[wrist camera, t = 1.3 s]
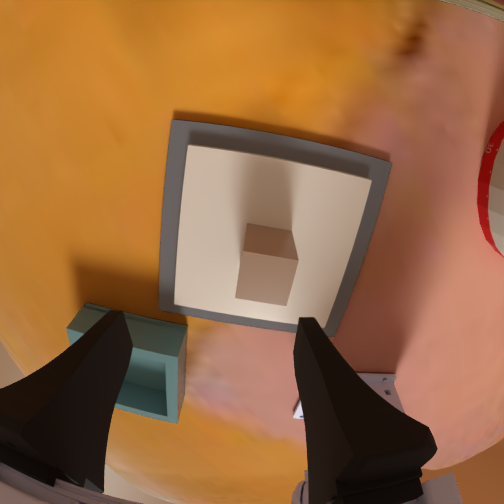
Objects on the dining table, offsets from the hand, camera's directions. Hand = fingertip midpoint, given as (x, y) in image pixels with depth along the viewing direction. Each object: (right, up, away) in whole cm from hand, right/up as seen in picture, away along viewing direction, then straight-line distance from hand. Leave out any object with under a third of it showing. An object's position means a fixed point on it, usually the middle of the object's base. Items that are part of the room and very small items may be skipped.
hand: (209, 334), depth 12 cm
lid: (+3, +4, +10) cm, 11 cm away
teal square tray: (-10, -7, +15) cm, 19 cm away
